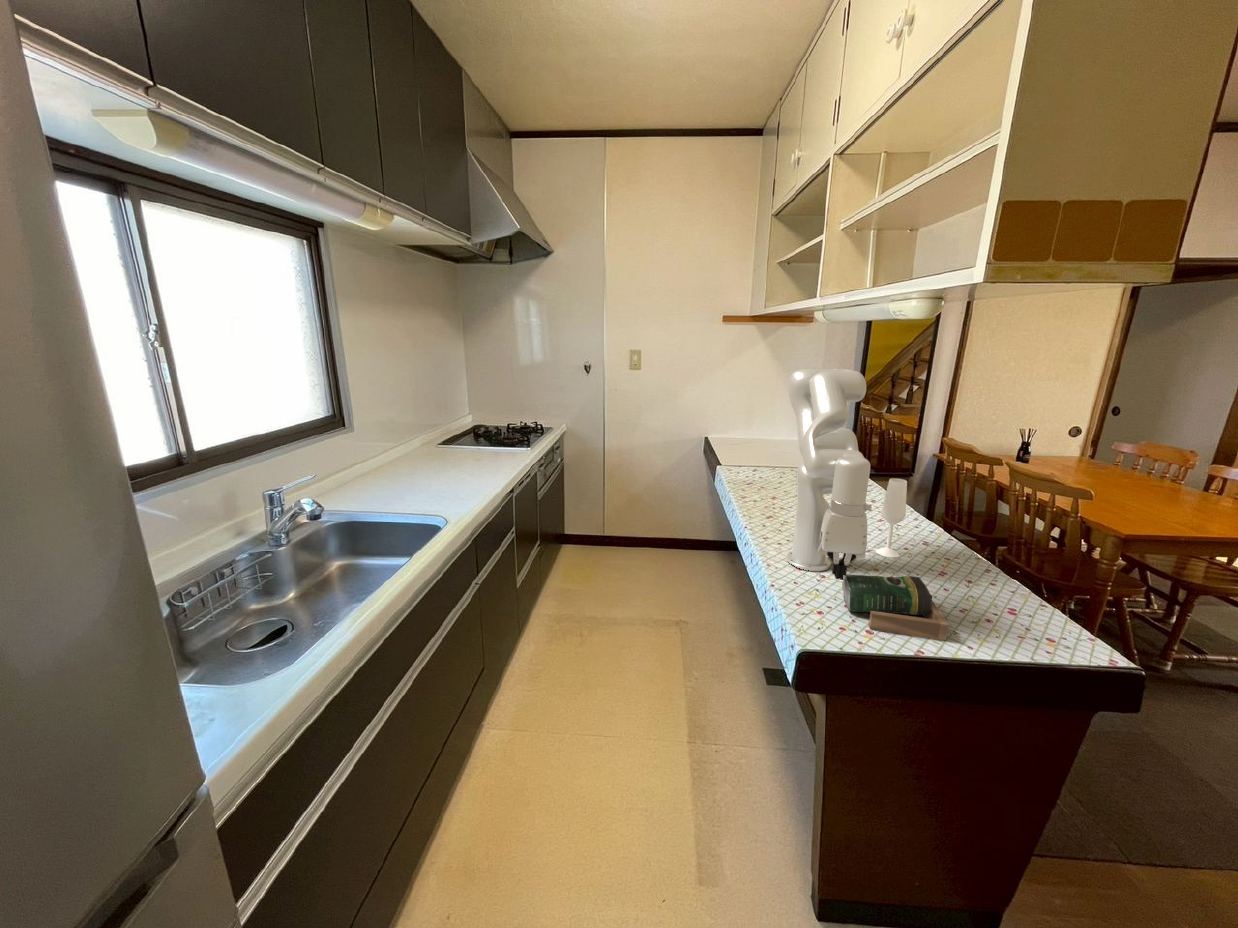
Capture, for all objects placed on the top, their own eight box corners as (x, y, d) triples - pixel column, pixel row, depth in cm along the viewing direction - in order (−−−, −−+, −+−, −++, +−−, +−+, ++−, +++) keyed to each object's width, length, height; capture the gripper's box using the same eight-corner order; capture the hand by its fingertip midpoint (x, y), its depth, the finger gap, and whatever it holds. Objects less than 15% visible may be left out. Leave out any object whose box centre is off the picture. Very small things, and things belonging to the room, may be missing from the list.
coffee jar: (848, 617, 120) (934, 621, 115) (848, 587, 118) (936, 590, 113) (841, 597, 129) (921, 600, 124) (841, 569, 127) (922, 571, 122)
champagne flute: (886, 558, 152) (898, 484, 146) (870, 549, 159) (880, 478, 153) (904, 556, 154) (916, 482, 148) (887, 547, 160) (898, 476, 154)
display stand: (856, 592, 131) (858, 579, 130) (921, 601, 127) (924, 587, 126) (869, 629, 114) (872, 614, 113) (945, 640, 110) (948, 624, 109)
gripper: (877, 505, 120) (867, 573, 124) (812, 500, 123) (805, 567, 128) (885, 515, 113) (874, 587, 117) (816, 510, 116) (808, 580, 121)
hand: (838, 576), depth 123 cm, fingers closed
